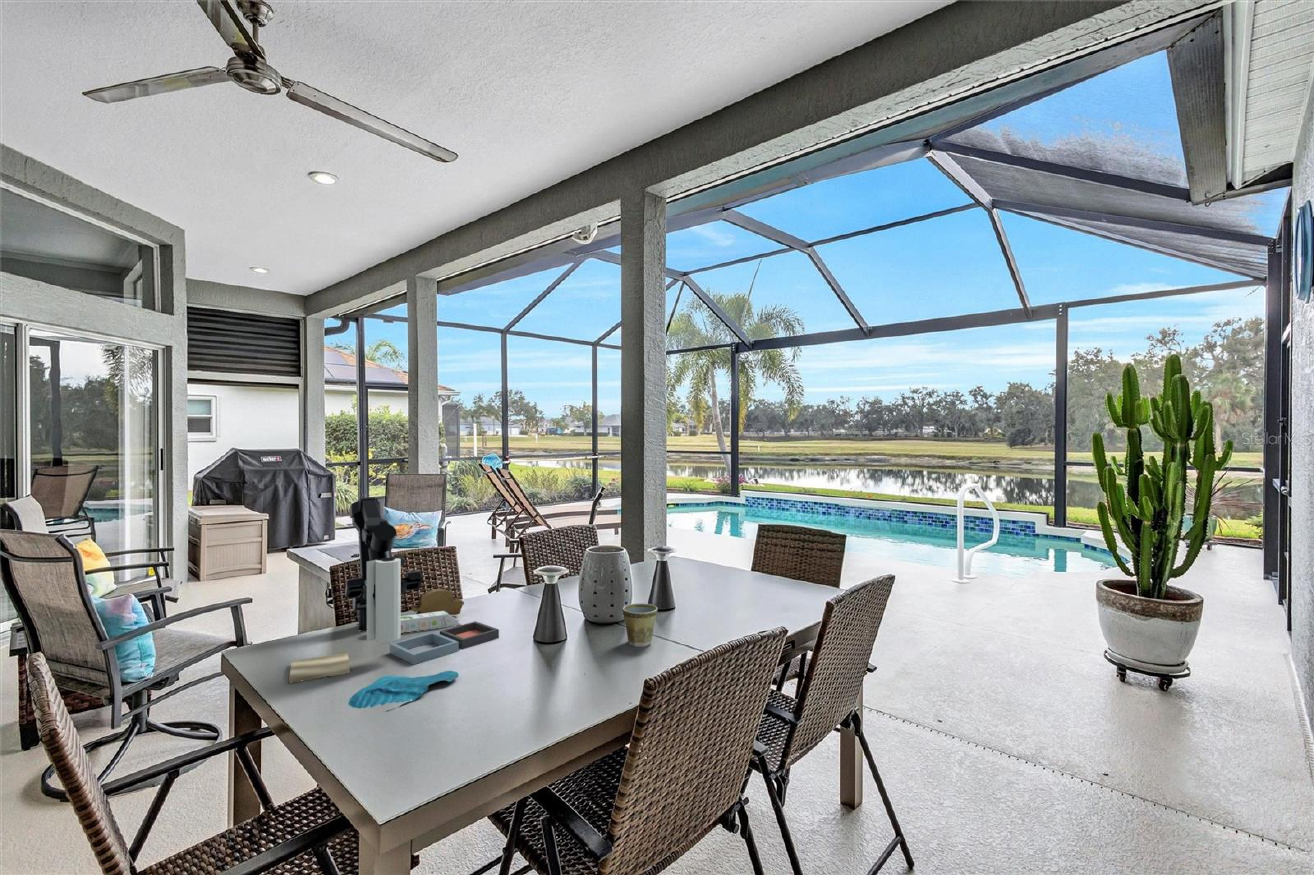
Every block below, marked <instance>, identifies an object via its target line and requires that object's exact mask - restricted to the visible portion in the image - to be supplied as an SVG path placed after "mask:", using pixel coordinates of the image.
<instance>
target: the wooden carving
mask: <svg viewBox="0 0 1314 875" xmlns="http://www.w3.org/2000/svg"><path fill="white" fill-rule="evenodd" d="M454 596H455V594H454V592H453V590H452V589H451V588H449V589H444V588H435V589H431V590H428V591H426V592H424V593H421V594H420V595H419V597H418V600H419V603H418V604H417V605H416V604H415V605H411V606H410V609H411V611H412V612H414V613H415V612H416V613H415V614H423V613H431V612H438V611H445V612H447V613H448V614H450V615H451V616H452V615H453V616H457V615H460V613H461V611H462V608H463V606H464V605H465V601H463V599H460V598H457V597H454Z"/></svg>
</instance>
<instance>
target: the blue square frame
mask: <svg viewBox="0 0 1314 875" xmlns="http://www.w3.org/2000/svg"><path fill="white" fill-rule="evenodd" d="M431 642H432V643H433V644H435V645H438V646H435V647H432V648H428V649H425V650H421V651H418V652H414V651H412V650H410V649H413V648H417V647H421V646H424V645H428V644H430V643H431ZM423 644H424V645H423ZM420 645H421V646H420ZM408 648H410V649H408ZM459 649H460V648H459V642H458V641H455V640H453V639H450V638H448V637H445V636H443V635H440V633H439V632H435V631H432V632H430V633H426V634H425V633H424V634H421V635H418V636H414V637H410V638H406V639H404V640H398V641H395V642H391V643H389V654H391V653H392V655H393V656H395V657H397V658H399V657H400V658H399V659H401V658H402V659H401V660H403V661H405V662H407V663H409V662H410V663H409V664H411V663H412V665H418V664H421V663H424V662H427V661H431V660H434V659H438V658H441V657H443V656H446V655H447V656H448V655H450V654H453V653H456V652H459Z"/></svg>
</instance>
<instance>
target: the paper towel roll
mask: <svg viewBox="0 0 1314 875" xmlns="http://www.w3.org/2000/svg"><path fill="white" fill-rule="evenodd" d="M401 569H402V567H401V559H399V558H396V559H394V558H393V560H388V561H384V560H383V559H382V560H373V561H367V630H366V642H372V641H375V642H376V643H379V644H391V643H395V642H398V641H400V639H401V638H402V637H401V635H402V634H401V614H402V613H401V612H402V610H401V607H402V606H401V601H402V600H401V599H402V598H401V596H402V594H401V578H402V577H401V573H402V572H401ZM375 584H376V608H375V603H374V602H375V600H374V598H373V596H372V595H373V594H374V585H375Z"/></svg>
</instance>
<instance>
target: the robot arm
mask: <svg viewBox="0 0 1314 875" xmlns="http://www.w3.org/2000/svg"><path fill="white" fill-rule="evenodd" d="M349 519H351V522H352V526H353V527H354V528H355V530H356V531H357V533H358V549H359V550H358V551H359V552H358V553H359V565H360V566H359V568H360V569H359V570H360V577H355V578H348V579H347V580H346V583H345V587H344V588H345V589H344V591H345V598H346V599H348V600H350V599H352V609H353V610H354V611H355V612H357V611H358V612H357V613H358V617H357V618H358V620H357V621H358V623H356V630H362V631H367V630H366V629H367V561H373V560H382V559H383V560H384V561H388V560H393V558H394V559H396V558H399V559H401V568H403V567H404V566H405V558H404V554H396V555H395V556H393V553H392V550H393V549H394V548H393V547H394V544H395V540H396V537H397V536H398V534H397V529H396V528H395V526H393V525H391V524H390V522H389V521H388V520H387V519H384V518H382V515H381V501H380V500H378V498H377V497H375V496H373V497H372V496H371V497H369V496H368V497H361V498H359V499H358V500H356V501H354V502H352V503H351V504H350V507H349ZM423 580H424V574H423V572H421V571H420V570H414V571H407V572H406V573H405V576H404V577H401V595H403V594H406V591H407V592H408V591H409V592H410V591H416V590H420V589H421V587H422V583H423ZM372 596H373V598H374V600H375V602H374V603H375V608H376V584H375V585H374V594H373V595H372ZM357 625H358V626H357Z"/></svg>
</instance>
